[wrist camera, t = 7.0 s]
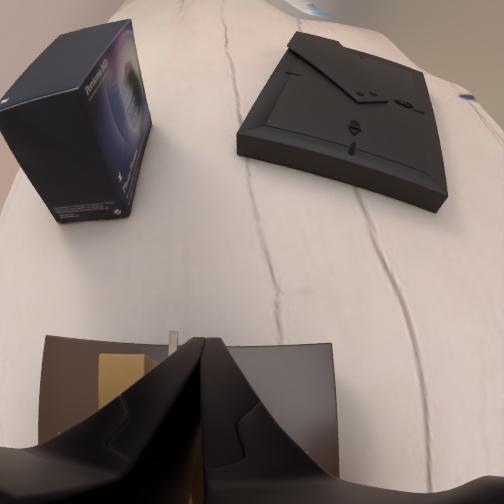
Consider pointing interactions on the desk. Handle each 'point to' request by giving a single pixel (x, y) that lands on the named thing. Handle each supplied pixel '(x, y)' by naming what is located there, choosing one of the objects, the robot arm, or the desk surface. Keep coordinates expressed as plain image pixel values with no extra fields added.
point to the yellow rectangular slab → (121, 375)
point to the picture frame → (349, 122)
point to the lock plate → (249, 361)
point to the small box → (81, 122)
